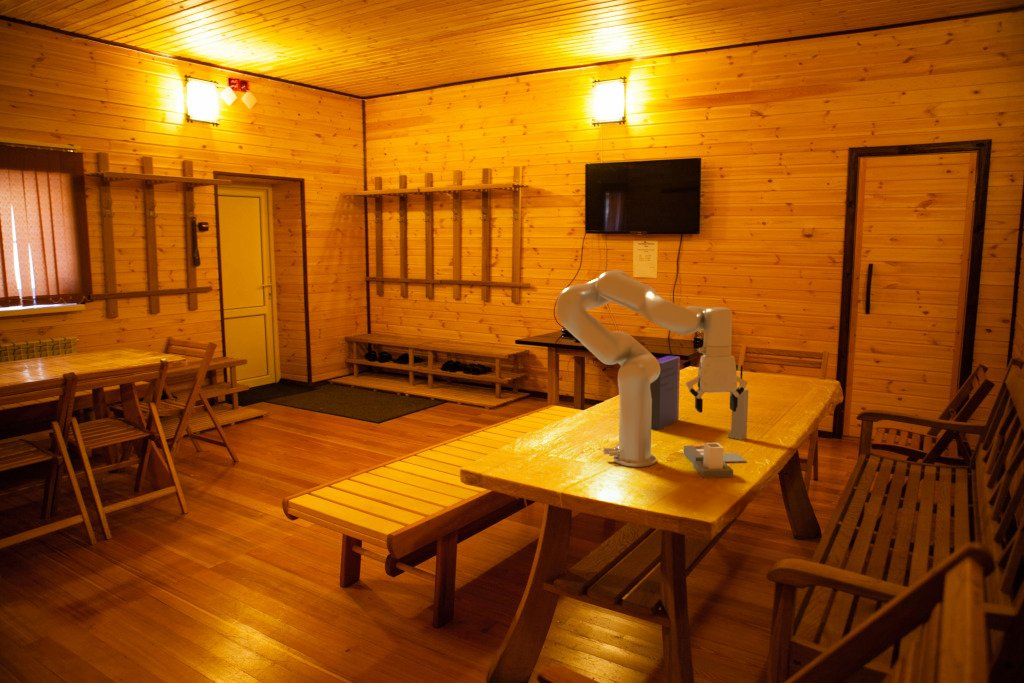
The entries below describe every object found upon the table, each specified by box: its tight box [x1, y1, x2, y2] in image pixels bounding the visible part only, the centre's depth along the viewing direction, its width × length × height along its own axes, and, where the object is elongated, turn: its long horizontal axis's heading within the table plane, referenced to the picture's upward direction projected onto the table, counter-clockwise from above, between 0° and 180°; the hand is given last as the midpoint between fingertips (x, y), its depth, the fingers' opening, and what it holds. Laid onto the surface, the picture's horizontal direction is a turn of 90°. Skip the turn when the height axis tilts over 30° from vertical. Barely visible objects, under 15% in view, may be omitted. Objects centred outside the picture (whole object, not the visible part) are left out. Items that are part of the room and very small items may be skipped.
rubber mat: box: [723, 452, 747, 464], centre depth 216 cm, size 8×8×1 cm
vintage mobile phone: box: [727, 364, 749, 441], centre depth 236 cm, size 4×5×25 cm
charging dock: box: [683, 444, 734, 478], centre depth 209 cm, size 8×21×4 cm, turn 3°
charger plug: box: [703, 442, 725, 469], centre depth 203 cm, size 4×5×8 cm
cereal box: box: [650, 355, 681, 431], centre depth 255 cm, size 17×5×24 cm, turn 145°
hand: (716, 410), depth 201 cm, fingers open, 9 cm apart
